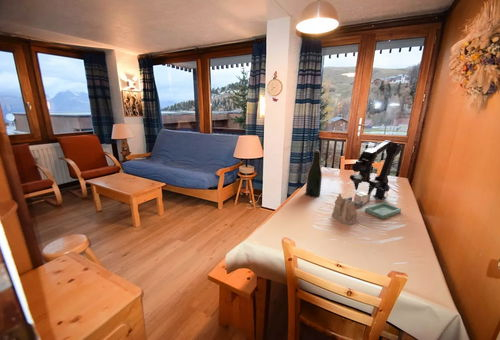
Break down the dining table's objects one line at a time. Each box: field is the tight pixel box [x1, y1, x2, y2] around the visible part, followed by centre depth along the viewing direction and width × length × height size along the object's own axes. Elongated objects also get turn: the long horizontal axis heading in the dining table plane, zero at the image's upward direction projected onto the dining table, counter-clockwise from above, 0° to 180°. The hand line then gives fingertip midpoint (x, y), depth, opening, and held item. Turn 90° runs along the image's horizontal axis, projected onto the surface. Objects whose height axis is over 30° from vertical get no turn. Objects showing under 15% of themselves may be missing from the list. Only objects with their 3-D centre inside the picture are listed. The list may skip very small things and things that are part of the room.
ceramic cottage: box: [331, 193, 358, 226], centre depth 128 cm, size 16×16×15 cm
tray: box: [364, 201, 402, 220], centre depth 137 cm, size 19×11×2 cm, turn 119°
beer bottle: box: [305, 149, 323, 198], centre depth 158 cm, size 10×10×33 cm
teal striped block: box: [353, 191, 372, 204], centre depth 152 cm, size 12×5×6 cm, turn 119°
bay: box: [343, 196, 364, 209], centre depth 147 cm, size 7×9×3 cm
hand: (362, 192), depth 149 cm, fingers open, 9 cm apart
